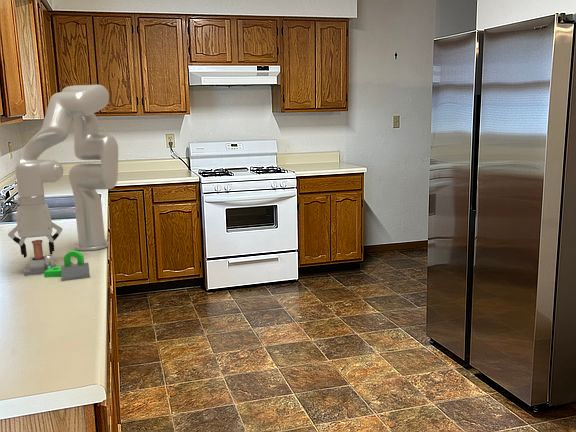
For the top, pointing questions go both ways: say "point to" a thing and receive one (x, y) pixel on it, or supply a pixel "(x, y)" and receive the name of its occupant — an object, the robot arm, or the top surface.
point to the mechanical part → (67, 261)
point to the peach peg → (38, 249)
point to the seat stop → (75, 271)
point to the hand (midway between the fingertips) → (38, 254)
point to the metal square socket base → (38, 265)
